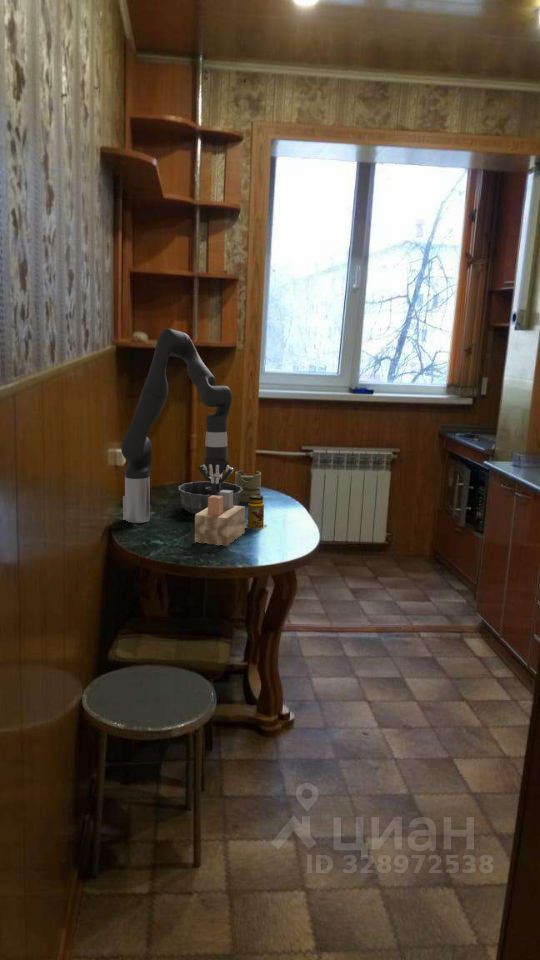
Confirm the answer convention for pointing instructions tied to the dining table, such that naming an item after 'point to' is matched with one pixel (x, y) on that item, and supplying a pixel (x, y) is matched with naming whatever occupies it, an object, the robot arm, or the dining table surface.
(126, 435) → the robot arm
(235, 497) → the bundt pan
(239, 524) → the oak block
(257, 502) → the condiment
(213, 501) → the peg terracotta
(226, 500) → the peg grey
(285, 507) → the dining table surface
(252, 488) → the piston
